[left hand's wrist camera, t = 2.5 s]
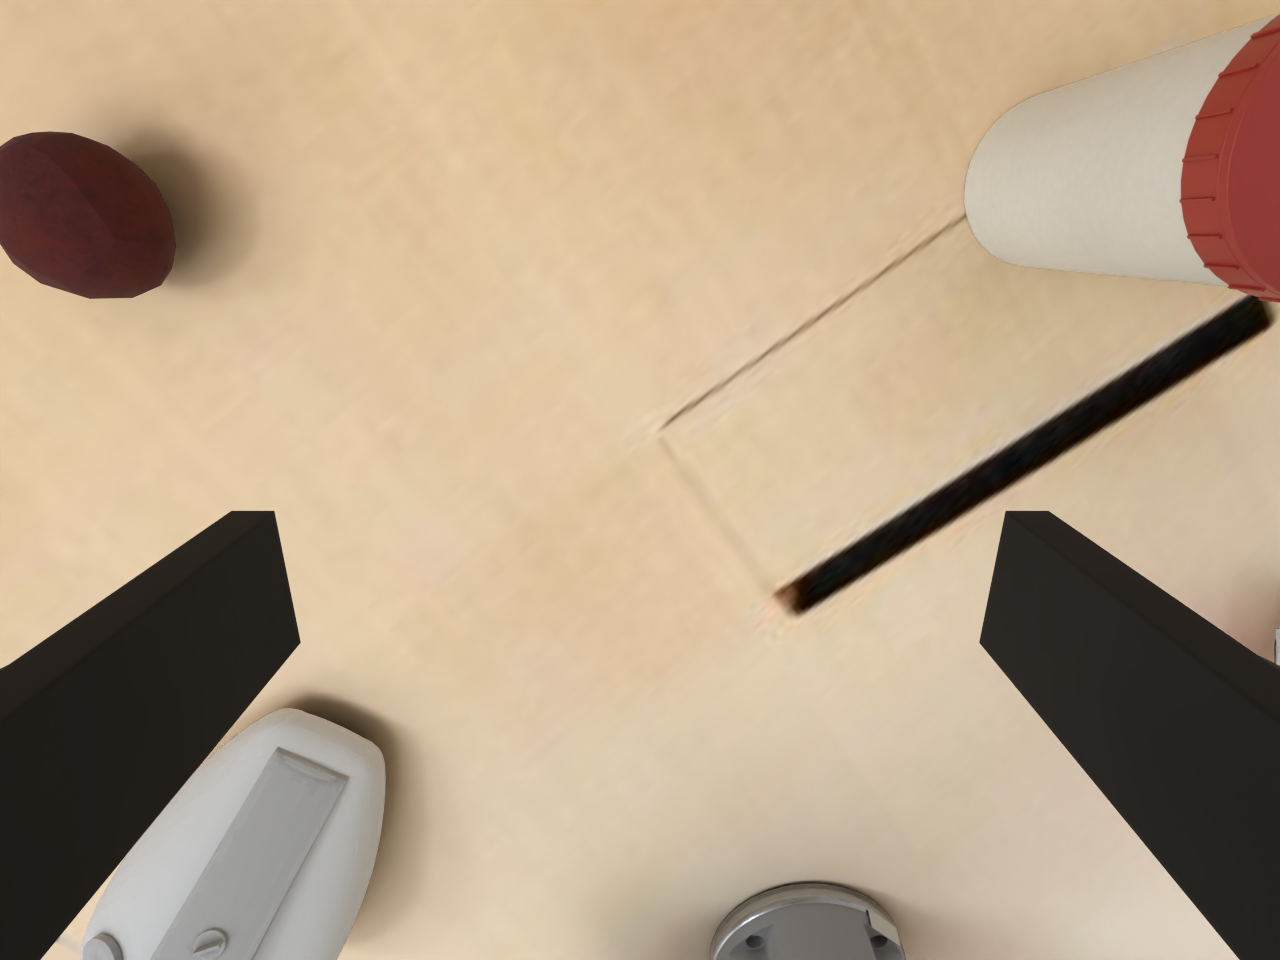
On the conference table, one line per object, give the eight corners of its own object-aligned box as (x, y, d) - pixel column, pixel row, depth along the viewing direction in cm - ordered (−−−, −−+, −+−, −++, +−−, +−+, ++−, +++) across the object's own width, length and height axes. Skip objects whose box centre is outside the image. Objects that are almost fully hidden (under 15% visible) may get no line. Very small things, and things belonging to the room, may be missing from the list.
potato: (126, 111, 35) (5, 83, 28) (237, 245, 37) (149, 249, 30) (30, 198, 36) (-107, 191, 29) (143, 322, 38) (38, 342, 32)
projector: (477, 903, 54) (422, 1135, 40) (218, 964, 56) (82, 1202, 42) (354, 678, 46) (234, 867, 33) (63, 759, 49) (-164, 966, 35)
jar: (1016, 299, 38) (1295, 352, 22) (932, 174, 36) (1173, 129, 20) (1157, 189, 36) (1578, 157, 20) (1077, 50, 34) (1476, -113, 18)
